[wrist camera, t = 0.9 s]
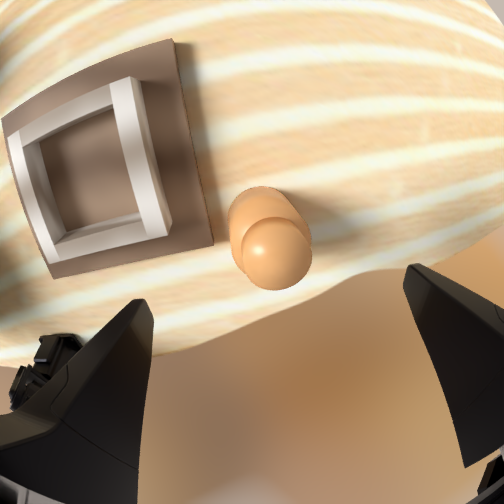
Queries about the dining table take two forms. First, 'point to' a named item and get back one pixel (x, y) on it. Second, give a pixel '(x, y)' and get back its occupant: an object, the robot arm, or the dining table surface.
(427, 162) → the dining table surface
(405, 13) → the dining table surface
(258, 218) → the tan rounded cylinder
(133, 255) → the collar board
